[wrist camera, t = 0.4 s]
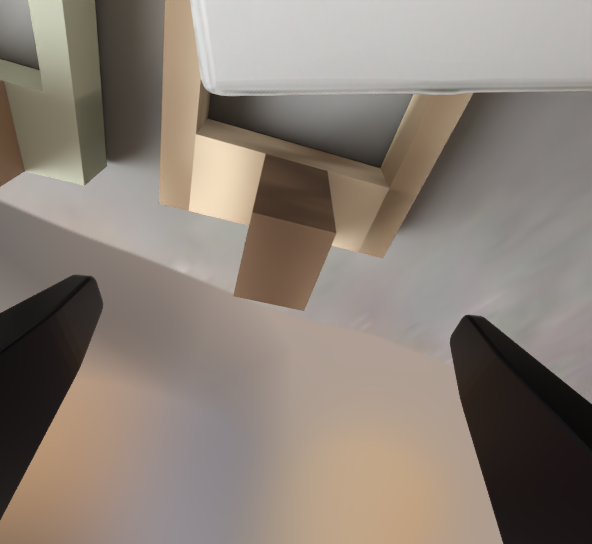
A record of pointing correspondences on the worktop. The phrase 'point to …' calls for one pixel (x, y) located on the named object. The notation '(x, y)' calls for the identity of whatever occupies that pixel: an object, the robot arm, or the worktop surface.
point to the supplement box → (393, 46)
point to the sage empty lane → (55, 98)
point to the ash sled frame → (286, 178)
